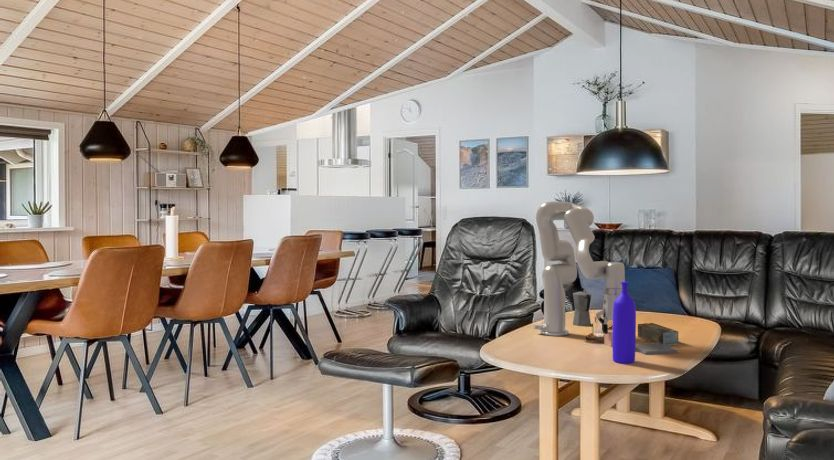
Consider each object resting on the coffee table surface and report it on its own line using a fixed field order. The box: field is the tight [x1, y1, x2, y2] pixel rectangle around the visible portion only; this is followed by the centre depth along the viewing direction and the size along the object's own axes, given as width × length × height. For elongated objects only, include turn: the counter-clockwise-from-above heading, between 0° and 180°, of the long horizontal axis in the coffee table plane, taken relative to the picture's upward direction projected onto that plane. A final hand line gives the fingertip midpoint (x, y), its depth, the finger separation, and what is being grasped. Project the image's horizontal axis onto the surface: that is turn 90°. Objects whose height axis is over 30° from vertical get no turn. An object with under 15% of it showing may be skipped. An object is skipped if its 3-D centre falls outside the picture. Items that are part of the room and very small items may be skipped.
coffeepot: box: [572, 287, 592, 327], centre depth 325 cm, size 15×9×18 cm, turn 9°
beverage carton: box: [637, 322, 679, 346], centre depth 288 cm, size 8×19×7 cm, turn 14°
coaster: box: [635, 342, 679, 355], centre depth 270 cm, size 14×14×1 cm
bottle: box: [612, 281, 637, 365], centre depth 250 cm, size 8×8×30 cm
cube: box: [603, 329, 613, 348], centre depth 279 cm, size 6×6×6 cm
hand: (616, 332), depth 278 cm, fingers open, 9 cm apart
